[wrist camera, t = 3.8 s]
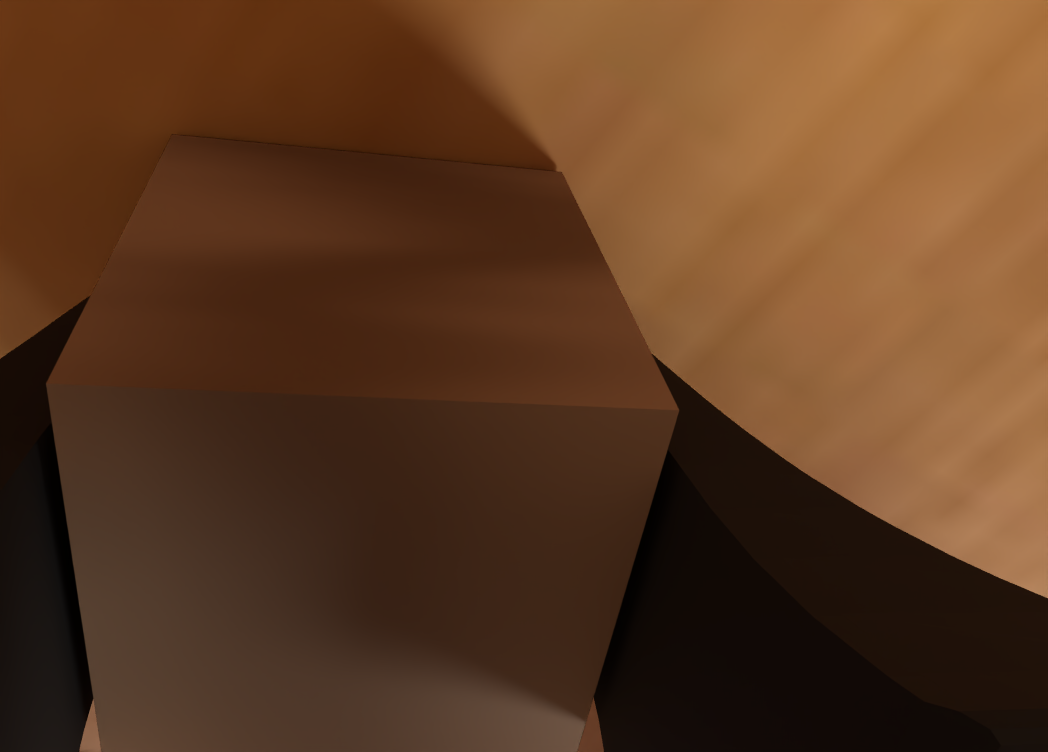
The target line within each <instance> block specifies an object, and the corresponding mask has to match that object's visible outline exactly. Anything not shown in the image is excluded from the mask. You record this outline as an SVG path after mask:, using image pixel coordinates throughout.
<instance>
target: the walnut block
mask: <svg viewBox="0 0 1048 752" xmlns="http://www.w3.org/2000/svg"><path fill="white" fill-rule="evenodd" d="M46 387H47V393H48V400H49V407H50V413H51V420H52V426H53V433H54V440H55V446H56V453H57V460H58V466H59V473H60V480H61V486H62V493H63V499H64V506H65V513H66V519H67V526H68V533H69V539H70V546H71V552H72V559H73V566H74V572H75V579H76V586H77V592H78V599H79V606H80V612H81V619H82V625H83V632H84V639H85V645H86V652H87V659H88V665H89V672H90V678H91V685H92V692H93V698H94V705H95V712H96V718H97V725H98V732H99V738H100V745H101V751H102V752H577V750H578V747H579V744H580V740H581V737H582V734H583V730H584V727H585V724H586V720H587V717H588V714H589V710H590V707H591V704H592V700H593V697H594V694H595V690H596V687H597V684H598V680H599V677H600V674H601V670H602V667H603V664H604V660H605V657H606V654H607V650H608V647H609V644H610V640H611V637H612V634H613V630H614V627H615V624H616V620H617V617H618V613H619V610H620V607H621V603H622V600H623V597H624V593H625V590H626V587H627V583H628V580H629V577H630V573H631V570H632V567H633V563H634V560H635V557H636V553H637V550H638V547H639V543H640V540H641V537H642V533H643V530H644V527H645V523H646V520H647V517H648V513H649V510H650V507H651V503H652V500H653V497H654V493H655V490H656V487H657V483H658V480H659V476H660V473H661V470H662V466H663V463H664V460H665V456H666V453H667V450H668V446H669V443H670V440H671V436H672V433H673V430H674V426H675V423H676V420H677V416H678V413H679V409H678V407H677V405H676V403H675V401H674V399H673V397H672V394H671V392H670V390H669V388H668V386H667V384H666V382H665V380H664V378H663V376H662V374H661V372H660V370H659V368H658V366H657V364H656V362H655V360H654V358H653V356H652V354H651V352H650V350H649V348H648V346H647V344H646V342H645V340H644V338H643V336H642V334H641V332H640V330H639V328H638V326H637V324H636V321H635V319H634V317H633V315H632V313H631V311H630V309H629V307H628V305H627V303H626V301H625V299H624V297H623V295H622V293H621V291H620V289H619V287H618V285H617V283H616V281H615V279H614V277H613V275H612V273H611V271H610V269H609V267H608V265H607V263H606V261H605V259H604V257H603V255H602V253H601V251H600V249H599V246H598V244H597V242H596V240H595V238H594V236H593V234H592V232H591V230H590V228H589V226H588V224H587V222H586V220H585V218H584V216H583V214H582V212H581V210H580V208H579V206H578V204H577V202H576V200H575V198H574V196H573V194H572V192H571V190H570V188H569V186H568V184H567V182H566V180H565V178H564V176H563V174H562V172H556V171H546V170H535V169H525V168H515V167H504V166H494V165H484V164H473V163H463V162H453V161H442V160H432V159H422V158H411V157H401V156H391V155H380V154H370V153H360V152H349V151H339V150H329V149H318V148H308V147H298V146H287V145H277V144H266V143H256V142H246V141H235V140H225V139H215V138H204V137H194V136H184V135H173V134H172V136H171V138H170V140H169V142H168V144H167V146H166V148H165V150H164V152H163V154H162V156H161V158H160V160H159V162H158V164H157V165H156V167H155V169H154V171H153V173H152V175H151V177H150V179H149V181H148V183H147V185H146V187H145V189H144V191H143V193H142V195H141V197H140V199H139V201H138V203H137V205H136V207H135V209H134V211H133V213H132V215H131V217H130V219H129V221H128V223H127V225H126V227H125V229H124V231H123V233H122V235H121V237H120V239H119V241H118V243H117V244H116V246H115V248H114V250H113V252H112V254H111V256H110V258H109V260H108V262H107V264H106V266H105V268H104V270H103V272H102V274H101V276H100V278H99V280H98V282H97V284H96V286H95V288H94V290H93V292H92V294H91V296H90V298H89V300H88V302H87V304H86V306H85V308H84V310H83V312H82V314H81V316H80V318H79V320H78V322H77V323H76V325H75V327H74V329H73V331H72V333H71V335H70V337H69V339H68V341H67V343H66V345H65V347H64V349H63V351H62V353H61V355H60V357H59V359H58V361H57V363H56V365H55V367H54V369H53V371H52V373H51V375H50V377H49V379H48V381H47V383H46Z"/></svg>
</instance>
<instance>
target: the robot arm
mask: <svg viewBox="0 0 1048 752" xmlns="http://www.w3.org/2000/svg"><path fill="white" fill-rule="evenodd" d="M89 298H90V296H89V297H88V298H86V299H85V300H83V301H82V302H80V303H79V304H78V305H76V306H75V307H73V308H72V309H70V310H69V311H68V312H66V313H65V314H63V315H62V316H61V317H59V318H58V319H56V320H55V321H54V322H52V323H51V324H49V325H48V326H47V327H45V328H44V329H42V330H41V331H40V332H38V333H37V334H35V335H34V336H33V337H31V338H30V339H28V340H27V341H25V342H24V343H23V344H21V345H20V346H18V347H17V348H15V349H14V350H12V351H11V352H9V353H8V354H7V355H5V356H4V357H2V358H1V359H0V752H79V749H80V744H81V740H82V736H83V732H84V728H85V725H86V721H87V718H88V714H89V711H90V708H91V704H92V701H93V692H92V685H91V678H90V672H89V665H88V659H87V652H86V645H85V639H84V632H83V625H82V619H81V612H80V606H79V599H78V592H77V586H76V579H75V572H74V566H73V559H72V552H71V546H70V539H69V533H68V526H67V519H66V513H65V506H64V499H63V493H62V486H61V480H60V473H59V466H58V460H57V453H56V446H55V440H54V433H53V426H52V420H51V413H50V407H49V400H48V393H47V387H46V383H47V381H48V379H49V377H50V375H51V373H52V371H53V369H54V367H55V365H56V363H57V361H58V359H59V357H60V355H61V353H62V351H63V349H64V347H65V345H66V343H67V341H68V339H69V337H70V335H71V333H72V331H73V329H74V327H75V325H76V323H77V322H78V320H79V318H80V316H81V314H82V312H83V310H84V308H85V306H86V304H87V302H88V300H89ZM652 356H653V358H654V360H655V362H656V364H657V366H658V368H659V370H660V372H661V374H662V376H663V378H664V380H665V382H666V384H667V386H668V388H669V390H670V392H671V394H672V397H673V399H674V401H675V403H676V405H677V407H678V409H679V413H678V416H677V420H676V423H675V426H674V430H673V433H672V436H671V440H670V443H669V446H668V450H667V453H666V456H665V460H664V463H663V466H662V470H661V473H660V476H659V480H658V483H657V487H656V490H655V493H654V497H653V500H652V503H651V507H650V510H649V513H648V517H647V520H646V523H645V527H644V530H643V533H642V537H641V540H640V543H639V547H638V550H637V553H636V557H635V560H634V563H633V567H632V570H631V573H630V577H629V580H628V583H627V587H626V590H625V593H624V597H623V600H622V603H621V607H620V610H619V613H618V617H617V620H616V624H615V627H614V630H613V634H612V637H611V640H610V644H609V647H608V650H607V654H606V657H605V660H604V664H603V667H602V670H601V674H600V677H599V680H598V684H597V687H596V690H595V694H594V701H595V705H596V709H597V714H598V718H599V724H600V730H601V735H602V741H603V747H604V752H1048V598H1045V597H1043V596H1041V595H1038V594H1036V593H1034V592H1031V591H1029V590H1027V589H1024V588H1022V587H1019V586H1017V585H1015V584H1012V583H1010V582H1008V581H1005V580H1003V579H1001V578H998V577H996V576H994V575H992V574H990V573H987V572H985V571H983V570H981V569H979V568H977V567H974V566H972V565H970V564H968V563H966V562H964V561H961V560H959V559H957V558H955V557H953V556H951V555H949V554H947V553H945V552H943V551H941V550H939V549H937V548H935V547H933V546H931V545H929V544H927V543H925V542H924V541H922V540H920V539H918V538H916V537H914V536H912V535H910V534H908V533H906V532H904V531H902V530H900V529H898V528H896V527H894V526H892V525H891V524H889V523H887V522H885V521H883V520H882V519H880V518H878V517H876V516H875V515H873V514H871V513H869V512H867V511H866V510H864V509H862V508H860V507H859V506H857V505H855V504H854V503H852V502H851V501H849V500H847V499H846V498H844V497H842V496H841V495H839V494H838V493H836V492H834V491H833V490H831V489H830V488H828V487H826V486H825V485H823V484H821V483H820V482H818V481H817V480H815V479H813V478H812V477H810V476H809V475H807V474H806V473H804V472H803V471H801V470H800V469H798V468H797V467H795V466H794V465H792V464H791V463H789V462H788V461H786V460H785V459H783V458H782V457H781V456H779V455H778V454H777V453H775V452H774V451H772V450H771V449H770V448H768V447H767V446H766V445H764V444H763V443H761V442H760V441H759V440H757V439H756V438H755V437H753V436H752V435H751V434H749V433H748V432H746V431H745V430H744V429H742V428H741V427H740V426H739V425H737V424H736V423H735V422H733V421H732V420H731V419H730V418H728V417H727V416H726V415H724V414H723V413H722V412H721V411H719V410H718V409H717V408H716V407H715V406H713V405H712V404H711V403H710V402H708V401H707V400H706V399H705V398H703V397H702V396H701V395H700V394H699V393H697V392H696V391H695V390H694V389H693V388H691V387H690V386H689V385H688V384H687V383H685V382H684V381H683V380H682V379H681V378H680V377H678V376H677V375H676V374H675V373H674V372H672V371H671V370H670V369H669V368H668V367H667V366H665V365H664V364H663V363H662V362H661V361H660V360H658V359H657V358H656V357H655V356H654V355H653V354H652Z"/></svg>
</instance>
